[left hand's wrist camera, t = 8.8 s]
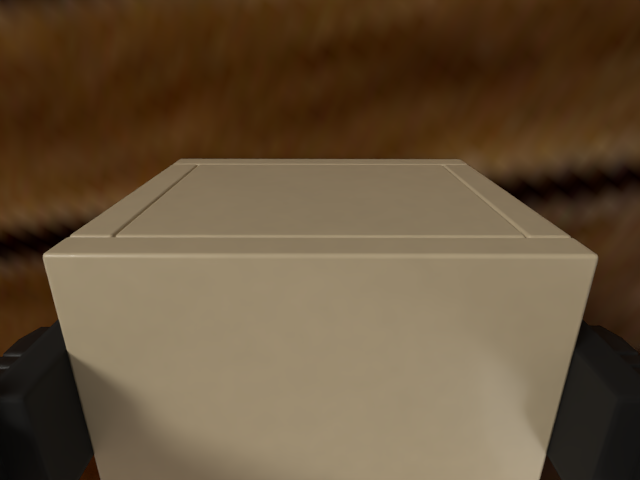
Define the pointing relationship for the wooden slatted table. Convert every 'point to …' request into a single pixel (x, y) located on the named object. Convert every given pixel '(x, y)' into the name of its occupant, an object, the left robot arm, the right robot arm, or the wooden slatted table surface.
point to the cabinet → (320, 323)
